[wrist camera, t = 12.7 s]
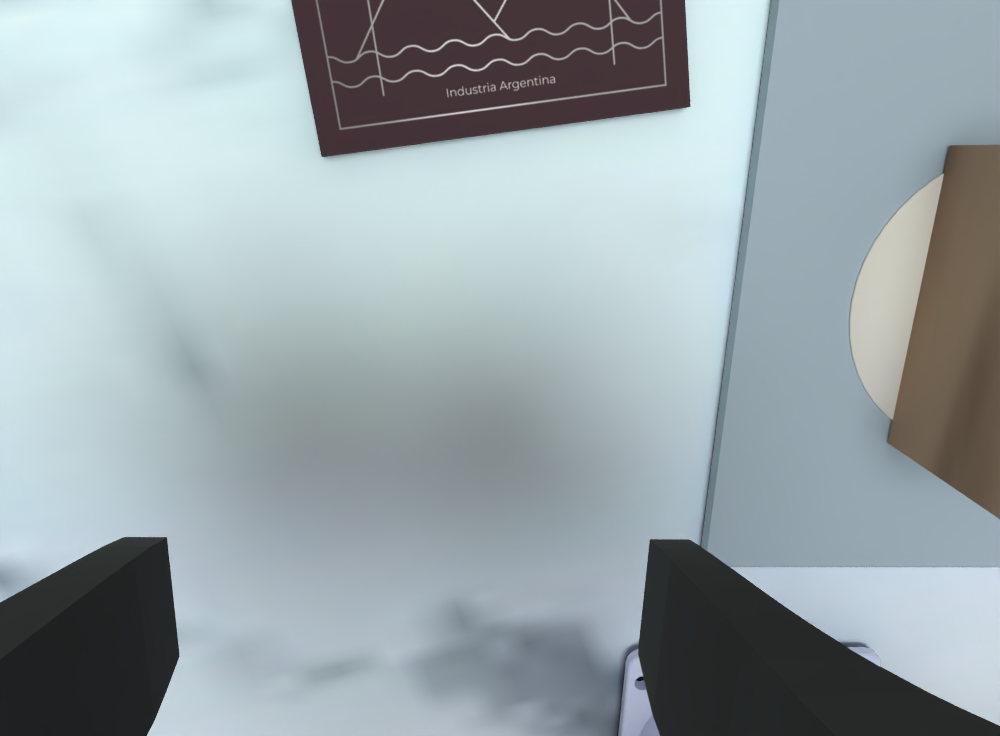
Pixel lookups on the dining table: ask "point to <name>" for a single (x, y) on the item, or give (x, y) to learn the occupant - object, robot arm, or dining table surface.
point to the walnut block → (958, 336)
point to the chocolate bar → (484, 66)
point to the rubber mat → (845, 286)
